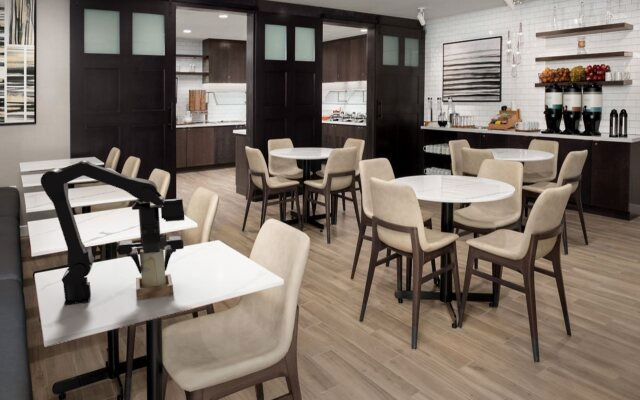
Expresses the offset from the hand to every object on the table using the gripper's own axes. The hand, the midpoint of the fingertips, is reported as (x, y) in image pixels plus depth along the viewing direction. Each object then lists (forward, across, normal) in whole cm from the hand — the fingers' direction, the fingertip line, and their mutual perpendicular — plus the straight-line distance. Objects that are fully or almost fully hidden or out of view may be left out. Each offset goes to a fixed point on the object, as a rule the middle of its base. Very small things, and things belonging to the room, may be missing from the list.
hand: (152, 271), depth 162 cm
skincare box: (+5, 0, 0) cm, 5 cm away
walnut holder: (+6, 0, 0) cm, 6 cm away
